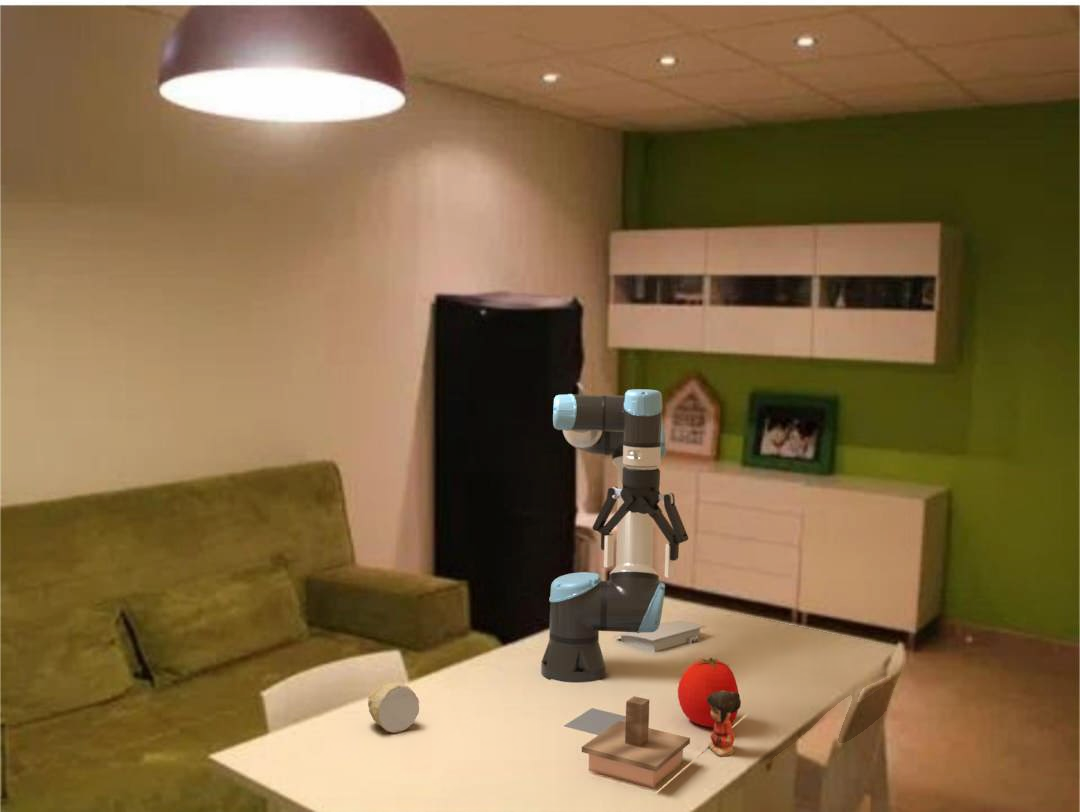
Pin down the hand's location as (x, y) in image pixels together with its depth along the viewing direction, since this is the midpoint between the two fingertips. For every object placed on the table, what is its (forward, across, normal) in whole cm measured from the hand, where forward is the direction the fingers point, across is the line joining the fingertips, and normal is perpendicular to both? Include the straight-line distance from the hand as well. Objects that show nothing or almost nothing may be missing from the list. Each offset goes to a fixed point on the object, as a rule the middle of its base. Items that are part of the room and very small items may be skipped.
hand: (638, 571), depth 210 cm
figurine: (+33, +19, 0) cm, 38 cm away
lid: (+29, +9, -17) cm, 35 cm away
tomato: (+33, +12, +10) cm, 36 cm away
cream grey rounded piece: (+33, -41, -27) cm, 59 cm away
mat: (+33, -6, -2) cm, 33 cm away
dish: (+33, +9, -17) cm, 38 cm away
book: (+34, -21, +58) cm, 70 cm away
